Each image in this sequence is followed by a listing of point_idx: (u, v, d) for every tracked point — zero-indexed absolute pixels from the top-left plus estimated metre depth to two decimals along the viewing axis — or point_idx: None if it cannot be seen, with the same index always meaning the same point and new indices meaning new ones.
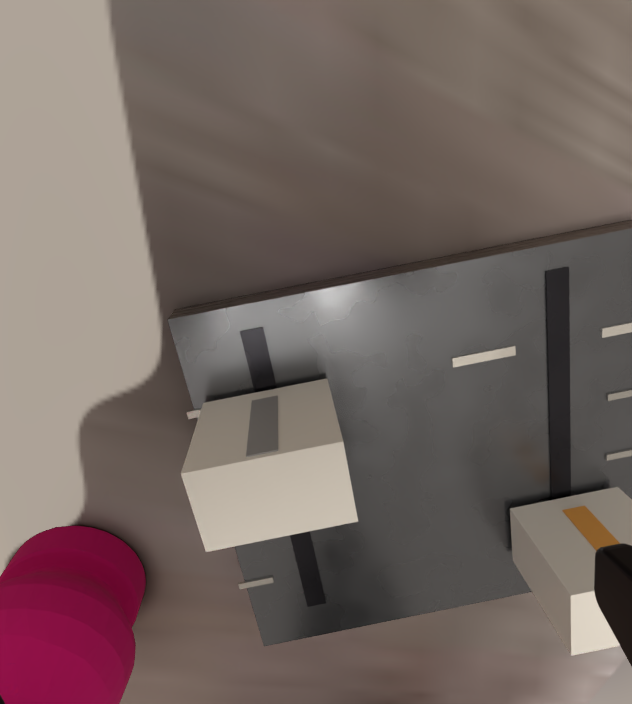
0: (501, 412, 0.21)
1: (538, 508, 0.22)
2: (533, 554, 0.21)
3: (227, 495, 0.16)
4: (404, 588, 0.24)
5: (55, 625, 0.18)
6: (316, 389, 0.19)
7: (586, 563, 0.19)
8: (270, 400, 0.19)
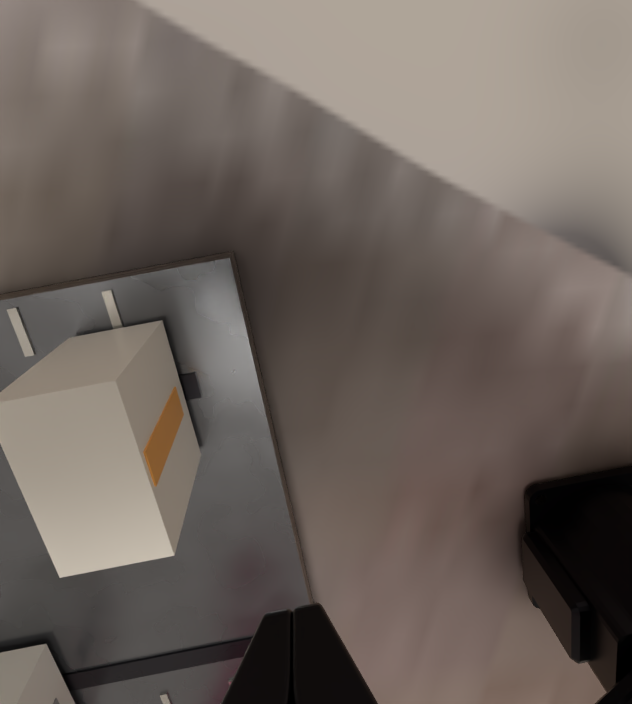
0: None
1: None
2: None
3: None
4: (251, 561, 0.20)
5: None
6: None
7: None
8: None
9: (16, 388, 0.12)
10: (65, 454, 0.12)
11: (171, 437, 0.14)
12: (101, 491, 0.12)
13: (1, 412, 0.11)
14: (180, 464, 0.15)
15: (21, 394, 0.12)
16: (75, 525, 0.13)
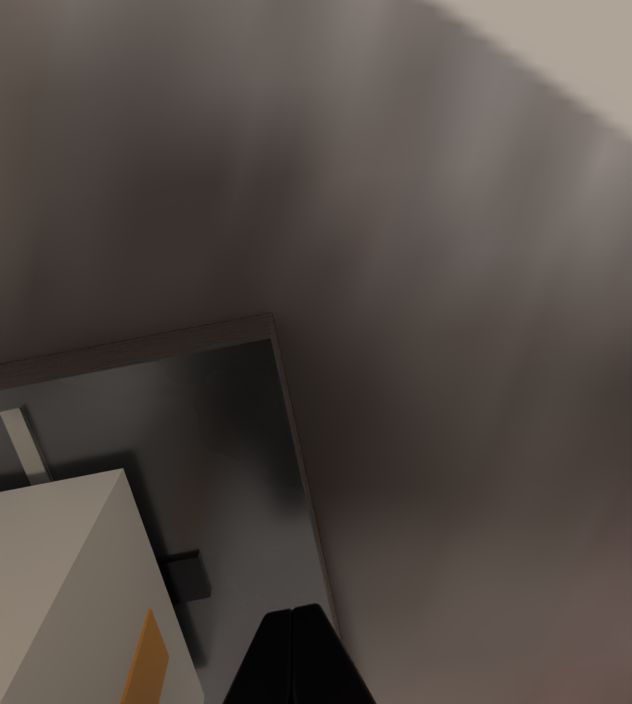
0: None
1: None
2: None
3: None
4: None
5: None
6: None
7: None
8: None
9: None
10: None
11: None
12: None
13: None
14: None
15: None
16: None
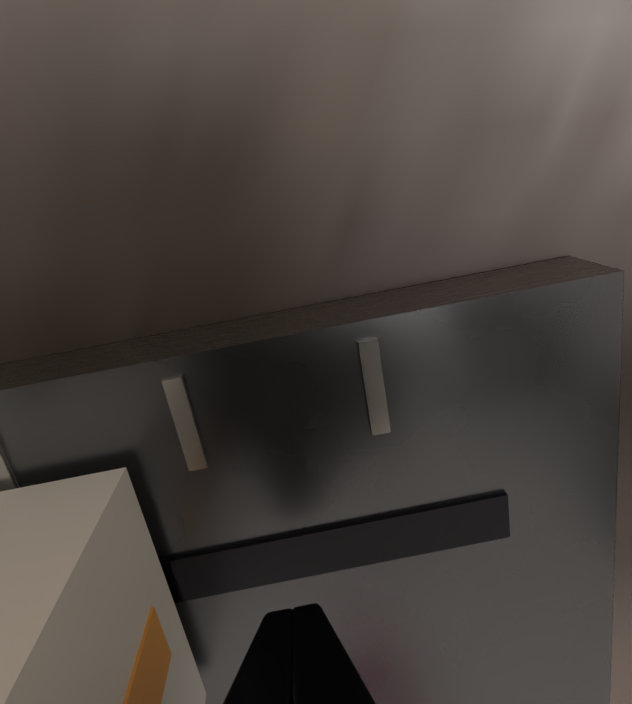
0: None
1: None
2: None
3: None
4: None
5: None
6: None
7: None
8: None
9: None
10: None
11: None
12: None
13: None
14: None
15: None
16: None
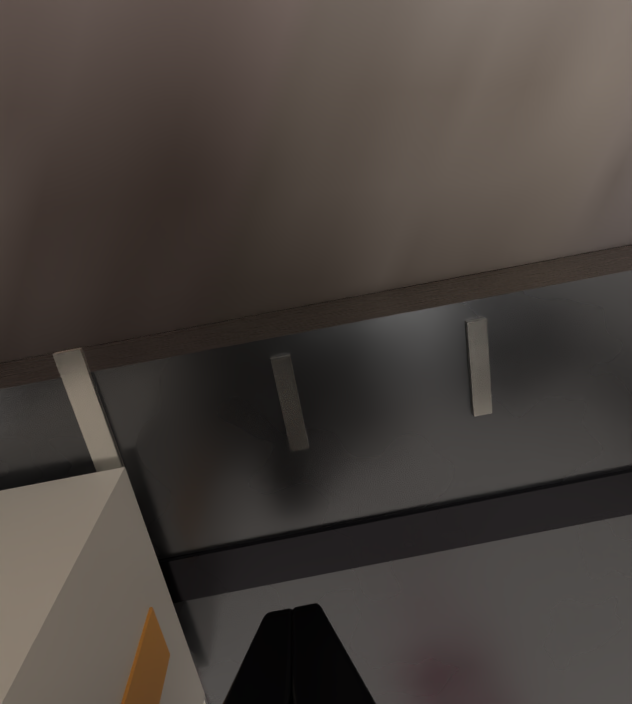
0: None
1: None
2: None
3: None
4: None
5: None
6: None
7: None
8: None
9: None
10: None
11: None
12: None
13: None
14: None
15: None
16: None
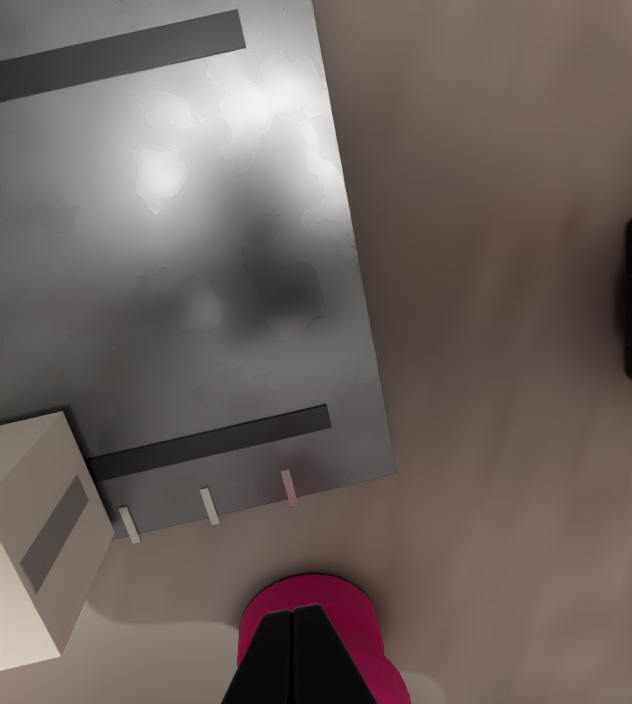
0: None
1: None
2: None
3: None
4: (308, 298, 0.16)
5: None
6: None
7: None
8: None
9: None
10: None
11: None
12: None
13: None
14: None
15: None
16: None
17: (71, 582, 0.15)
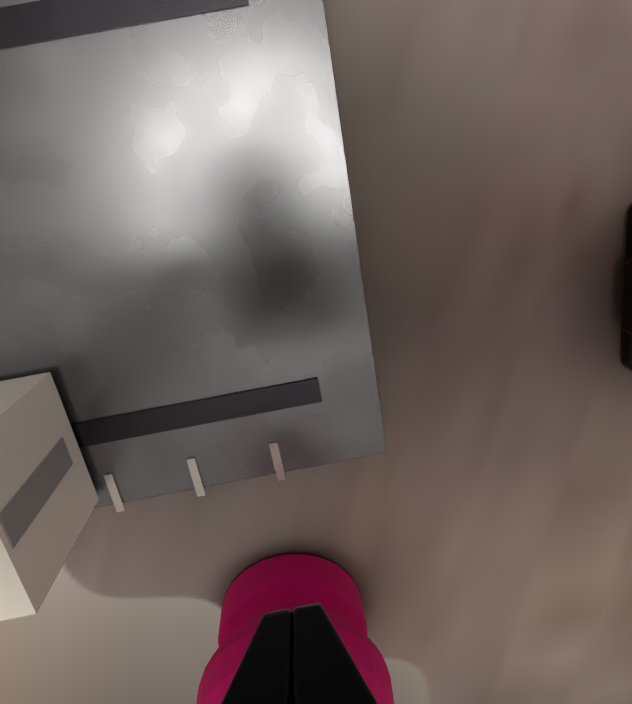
0: None
1: None
2: None
3: None
4: (303, 267, 0.16)
5: None
6: None
7: None
8: None
9: None
10: None
11: None
12: None
13: None
14: None
15: None
16: None
17: (50, 542, 0.15)
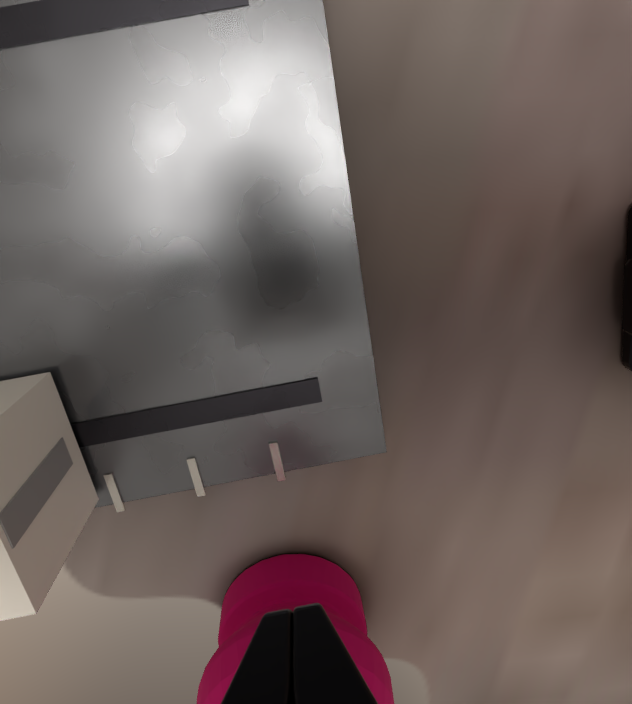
0: None
1: None
2: None
3: None
4: (303, 267, 0.16)
5: None
6: None
7: None
8: None
9: None
10: None
11: None
12: None
13: None
14: None
15: None
16: None
17: (50, 542, 0.15)
